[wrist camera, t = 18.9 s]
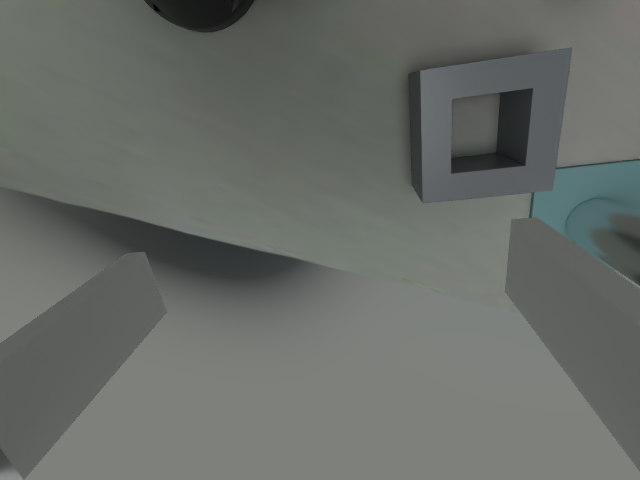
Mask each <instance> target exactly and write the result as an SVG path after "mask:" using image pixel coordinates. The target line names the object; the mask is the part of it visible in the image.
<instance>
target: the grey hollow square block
mask: <svg viewBox="0 0 640 480" xmlns="http://www.w3.org/2000/svg"><path fill="white" fill-rule="evenodd" d="M571 52H572V48H565V49H559V50H552V51H545V52H539V53H532V54H526V55H519V56H512V57H506V58H499V59H493V60H486V61H479V62H473V63H466V64H460V65H453V66H446V67H440V68H433V69H426V70H420V71H417V72H414V73H411V74H409V106H410V139H411V172H412V186H413V188H414V190H415V191H416V193H417V195H418V196H419V198H420V200H421V201H422V203H431V202H441V201H452V200H462V199H472V198H482V197H492V196H503V195H513V194H523V193H533V192H543V191H553V186H554V179H555V171H556V164H557V156H558V149H559V141H560V134H561V127H562V119H563V112H564V104H565V97H566V90H567V82H568V75H569V67H570V60H571ZM500 92H501V93H500ZM493 93H500V108H499V123H498V139H497V153H493V154H484V155H475V156H467V157H458V158H451V137H452V99H457V98H464V97H471V96H479V95H486V94H493Z"/></svg>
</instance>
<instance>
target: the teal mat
mask: <svg viewBox="0 0 640 480" xmlns="http://www.w3.org/2000/svg"><path fill="white" fill-rule="evenodd" d="M595 198H605V199H609V200H612V201H614V202H616V203H619V204H621V205H623V206H625V207H628V208H630V209H632V210H635V211H637V212H639V213H640V159H637V160H627V161H618V162H609V163H599V164H590V165H581V166H571V167H562V168H556V171H555V179H554V186H553V191H543V192H533V193H532V199H531V208H530V217H529V218H534V217H537V218H538V219H540V220H541V221H543V222H544V223H546V224H547V225H548V226H550V227H551V228H553V229H554V230H556V231H557V232H559V233H560V234H561V235H563V236H564V237H566V238H567V239H569V240H570V241H571V242H573V243H574V244H576V245H577V246H579V247H580V248H582V249H583V250H584V251H586V252H587V253H589V254H590V255H592V256H593V257H594V258H596V259H597V260H599V261H600V262H602V263H603V264H605V265H606V266H607V267H609V268H610V269H612V270H616V269H614V268H613V267H611V266H610V265H608V264H607V263H605V262H604V261H603V260H601V259H600V258H598V257H597V256H595V255H594V254H592V253H591V252H590V251H588V250H587V249H585V248H584V247H582V246H581V245H579V244H578V243H576V242H574V241H573V240H571V239H570V238H569V236H568V234H567V233H566V221H567V219H568V217H569V215H570V213H571V212H572V211H573V210H574V209H575V208H576V207H577V206H578V205H580V204H581V203H583V202H585V201H588V200H591V199H595Z"/></svg>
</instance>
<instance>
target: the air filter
mask: <svg viewBox="0 0 640 480" xmlns="http://www.w3.org/2000/svg"><path fill="white" fill-rule="evenodd" d="M566 233H567V234H568V236H569V238H570V239H571V240H573V241H574V242H576V243H578V244H579V245H581V246H582V247H584V248H585V249H587V250H588V251H590V252H591V253H592V254H594V255H595V256H597V257H598V258H600V259H601V260H603V261H604V262H605V263H607V264H608V265H610V266H611V267H613V268H614V269H616V270H617V271H619V272H620V273H621V274H623V275H624V276H626V277H627V278H629V279H630V280H632V281H633V282H635V283H636V284H637V285H639V286H640V213H639V212H637V211H635V210H632V209H630V208H628V207H625V206H623V205H621V204H619V203H616V202H614V201H612V200H609V199H605V198H595V199H591V200H588V201H585V202H583V203H581V204H580V205H578V206H577V207H576V208H575V209H574V210H573V211H572V212H571V213H570V215H569V217H568V219H567V221H566Z"/></svg>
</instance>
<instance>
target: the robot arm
mask: <svg viewBox="0 0 640 480" xmlns="http://www.w3.org/2000/svg"><path fill="white" fill-rule="evenodd" d="M144 1H145V2H146V3H147V4H148V5H149V6H150V7H151V8H152V9H153V10H154V11H155V12H156V13H158V14H159V15H160V16H161V17H163V18H164V19H166V20H168V21H169V22H171V23H173V24H175V25H178V26H180V27H183V28H186V29H189V30H192V31H197V32H213V31H218V30H221V29H224V28H226V27H228V26H230V25H232V24H233V23H235V22H236V21H237V20H239V19H240V18H241V17H242V16H243V15H244V14H245V13H246V11H247V10H248V9H249V7H250V6H251V4H252V3H253V1H254V0H144ZM505 292H506V293H507V295H508V296H509V297H510V299H511V300H512V301H513V303H514V304H515V305H516V307H517V308H518V309H519V311H520V312H521V313H522V315H523V316H524V317H525V319H526V320H527V321H528V323H529V324H530V325H531V327H532V328H533V330H534V331H535V332H536V334H537V335H538V336H539V337H540V339H541V340H542V342H543V343H544V344H545V346H546V347H547V348H548V350H549V351H550V352H551V354H552V355H553V356H554V358H555V359H556V360H557V362H558V363H559V364H560V366H561V367H562V368H563V370H564V371H565V372H566V374H567V375H568V376H569V378H570V379H571V380H572V382H573V383H574V384H575V386H576V387H577V388H578V390H579V391H580V392H581V394H582V395H583V396H584V398H585V399H586V400H587V402H588V403H589V404H590V406H591V407H592V408H593V410H594V411H595V412H596V414H597V415H598V416H599V418H600V419H601V420H602V422H603V423H604V424H605V426H606V427H607V428H608V430H609V431H610V432H611V434H612V435H613V436H614V438H615V439H616V441H617V442H618V443H619V444H620V446H621V447H622V448H623V450H624V451H625V452H626V454H627V455H628V457H629V458H630V459H631V461H632V462H633V463H634V465H635V466H636V467H637V469H638V470H639V471H640V289H639V288H638V287H636V286H635V285H633V284H632V283H630V282H629V281H628V280H626V279H625V278H623V277H622V276H620V275H619V274H617V273H616V272H615V271H613V270H612V269H610V268H609V267H607V266H606V265H605V264H603V263H602V262H600V261H599V260H597V259H596V258H594V257H593V256H592V255H590V254H589V253H587V252H586V251H584V250H583V249H582V248H580V247H579V246H577V245H576V244H574V243H573V242H571V241H570V240H569V239H567V238H566V237H564V236H563V235H561V234H560V233H559V232H557V231H556V230H554V229H553V228H551V227H550V226H548V225H547V224H546V223H544V222H543V221H541V220H540V219H538V218H537V217H534V218H523V219H511V230H510V242H509V253H508V264H507V275H506V286H505ZM166 312H167V311H166V308H165V306H164V303H163V300H162V297H161V295H160V292H159V289H158V287H157V284H156V281H155V279H154V276H153V273H152V271H151V268H150V265H149V263H148V260H147V257H146V254H145V252H140V253H128V254H125V255H124V256H122V257H121V258H120V259H118V260H117V261H115V262H114V263H113V264H111V265H110V266H108V267H107V268H105V269H104V270H103V271H101V272H100V273H99V274H97V275H96V276H94V277H93V278H92V279H90V280H89V281H88V282H86V283H84V284H83V285H82V286H81V287H79V288H77V289H76V290H75V291H73V292H72V293H70V294H69V295H68V296H66V297H65V298H63V299H62V300H61V301H59V302H58V303H56V304H55V305H53V306H52V307H51V308H49V309H48V310H46V311H45V312H44V313H43V314H41V315H39V316H38V317H37V318H35V319H34V320H32V321H31V322H30V323H28V324H27V325H25V326H24V327H23V328H21V329H20V330H18V331H17V332H16V333H14V334H13V335H11V336H10V337H8V338H7V339H6V340H4V341H3V342H1V343H0V480H24V479H25V478H26V477H27V476H28V475H29V473H30V472H31V471H32V470H33V469H34V468H35V466H36V465H37V464H38V463H39V462H40V461H41V459H42V458H43V457H44V456H45V455H46V454H47V452H48V451H49V450H50V449H51V448H52V446H53V445H54V444H55V443H56V442H57V441H58V440H59V438H60V437H61V436H62V435H63V433H64V432H65V431H66V430H67V429H68V428H69V427H70V425H71V424H72V423H73V422H74V421H75V419H76V418H77V417H78V416H79V415H80V413H81V412H82V411H83V410H84V409H85V408H86V407H87V405H88V404H89V403H90V402H91V401H92V400H93V398H94V397H95V396H96V395H97V394H98V393H99V391H100V390H101V389H102V388H103V386H104V385H105V384H106V383H107V382H108V381H109V380H110V378H111V377H112V376H113V375H114V374H115V373H116V371H117V370H118V369H119V368H120V367H121V365H122V364H123V363H124V362H125V361H126V360H127V358H128V357H129V356H130V355H131V354H132V353H133V351H134V350H135V349H136V348H137V346H138V345H139V344H140V343H141V342H142V341H143V340H144V338H145V337H146V336H147V335H148V334H149V332H150V331H151V330H152V329H153V328H154V327H155V326H156V324H157V323H158V322H159V321H160V320H161V318H162V317H163V316H164V315H165V314H166Z"/></svg>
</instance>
